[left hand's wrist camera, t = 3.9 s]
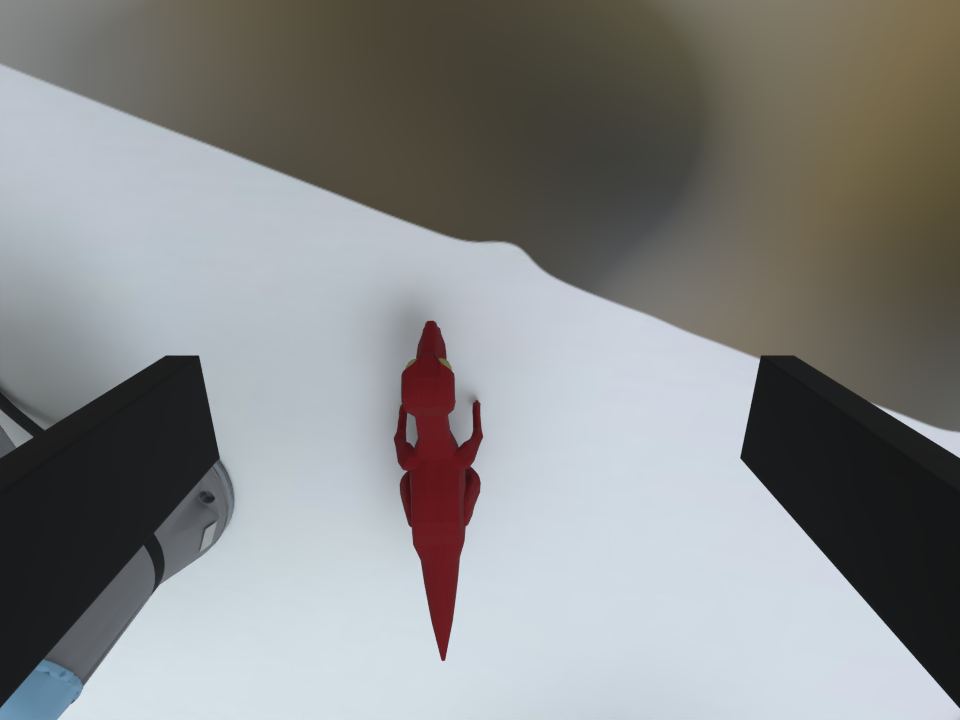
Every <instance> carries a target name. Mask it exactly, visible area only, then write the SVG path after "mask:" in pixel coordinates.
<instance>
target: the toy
mask: <svg viewBox="0 0 960 720" xmlns="http://www.w3.org/2000/svg"><path fill="white" fill-rule="evenodd" d="M401 397H402V405H401V406H400V410H399V420H398V428H397V433H396V435H395V437H394V441H395V446H396V452H397V459H398V463H399V464H400V466H401V467H402V469H403V470H406V471H408V472H406V473H405V474H404V476H403V477H402V479H401V482H400V495H401V499H402V502H403V506H404V510H405V514H406V517H407V521H408V524H409V526H410V527H412V535H413V545H414V547H415V549H416V551H417V553H418V555H419V558H420V560H421V565H422V571H423V578H424V584H425V590H426V595H427V600H428V605H429V611H430V616H431V621H432V625H433V629H434V633H435V637H436V641H437V645H438V648H439V652H440V656H441V660H442V661H445V658H446V653H447V648H448V642H449V637H450V632H451V627H452V622H453V615H454V607H455V599H456V591H457V582H458V572H459V561H460V555H461V551H462V548H463V544H464V540H465V528H466V526H467V525H468V524H469V521H470V519H471V517H472V514H473V510H474V506H475V503H476V501H477V498H478V496H479V493H480V484H481V482H480V478H479V476H478V474H477V473H476V472H475V470H474V469H473V468H472V467H470V466H471V464H472V463H473V462H474V460H475V457H476V454H477V451H478V448H479V445H480V443H481V440H482V438H483V434H482V430H481V418H480V406H481V405H480V403H479V402H478V400H476V401H475V402H474V403H473V433H472V436H471V438H470V439H469V440H467V441H466V442H464V443H463V444H462V445H461V446H460V447H458V444H457V442H456V440H455V438H454V436H453V434H452V433H451V431H450V427H449V420H448V414H449V413H450V412H451V411H453V410H454V406H455V378H454V373H453V372H452V369H451V366H450V364H449V362H448V361H447V360H446V349H445V343H444V340H443V338H442V335H441V331H440V328H439V327H437V324H436V322H434V321H427V322H426V324H425V327H424V329H423V333H422V336H421V339H420V341H419V344H418V349H417V356H416V359H414V360H411V361H410V362H409V363H408V364H407V366H406V369H405V370H404V371H403V373H402V383H401ZM407 412H408V413H409V414H411V415H413V416H414V417H415V418H416V425H417V433H418V440H417V442H416V445H415V447H413V446H412V445H411V444H410V443H408V442H406V421H407Z"/></svg>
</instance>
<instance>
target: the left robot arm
mask: <svg viewBox="0 0 960 720" xmlns="http://www.w3.org/2000/svg"><path fill="white" fill-rule="evenodd" d="M0 409H1V410H2V411H3V412H4V413H5V414H6V415H8V416H9V417H10V418H11V419H12V420H14V421H15V422H16V423H17V424H18V425H20V426H21V427H22V428H23V429H25V430H26V431H27V432H28V433H30V434H31V435H32V436H33V437H34V438H32V439H30V440H29V441H27V442H26V443H24V444H22V445H21V446H19V447H17V448H16V447H15V445H14V444H13V443H12V441H11V440H10V438H9V437H8V435H7V434H6V433H5V431H4V430H3V428H2V427H1V425H0V720H57V719H58V718H59V717H60V716H61V714H62V713H63V712H64V711H65V710H66V709H67V707H68V706H69V705H70V704H72V703H73V702H74V701H75V700H76V699H77V698H78V697H79V695H80V694H81V691H82V689H83V686H84V685H85V684H86V682H87V681H88V680H89V678H90V677H91V676H92V674H93V673H94V672H95V670H96V669H97V668H98V666H99V665H100V664H101V662H102V661H103V659H104V658H105V657H106V655H107V654H108V653H109V651H110V650H111V649H112V647H113V646H114V645H115V643H116V642H117V641H118V639H119V638H120V637H121V635H122V634H123V633H124V631H125V630H126V629H127V627H128V626H129V625H130V623H131V622H132V621H133V619H134V618H135V617H136V615H137V614H138V613H139V611H140V610H141V609H142V607H143V606H144V605H145V603H146V602H147V601H148V599H149V598H150V596H151V595H152V594H153V592H154V591H155V590H156V588H157V587H158V586H159V585H160V584H161V583H163V582H164V581H166V580H167V579H169V578H170V577H171V576H173V575H174V574H176V573H177V572H179V571H180V570H182V569H183V568H185V567H186V566H188V565H189V564H191V563H192V562H193V561H195V560H196V559H198V558H199V557H201V556H202V555H203V554H205V553H206V552H207V551H208V550H209V549H210V548H211V547H212V546H213V545H214V544H215V543H216V542H217V540H218V539H219V538H220V536H221V535H222V533H223V532H224V530H225V529H226V527H227V526H228V524H229V522H230V519H231V516H232V513H233V507H234V497H233V490H232V486H231V483H230V480H229V477H228V475H227V473H226V471H225V469H224V467H223V466H222V464H221V463H220V462H219V458H220V457H219V452H218V447H217V442H216V437H215V432H214V427H213V422H212V418H211V413H210V408H209V403H208V398H207V393H206V388H205V383H204V378H203V373H202V368H201V363H200V358H199V356H165V357H163V358H161V359H160V360H158V361H157V362H155V363H153V364H152V365H150V366H148V367H147V368H145V369H144V370H142V371H140V372H139V373H137V374H136V375H134V376H132V377H131V378H129V379H127V380H126V381H124V382H123V383H121V384H119V385H118V386H116V387H114V388H113V389H111V390H110V391H108V392H106V393H105V394H103V395H102V396H100V397H98V398H97V399H95V400H93V401H92V402H90V403H89V404H87V405H85V406H84V407H82V408H81V409H79V410H77V411H76V412H74V413H72V414H71V415H69V416H68V417H66V418H64V419H63V420H61V421H60V422H58V423H56V424H55V425H53V426H51V427H50V428H48V429H47V430H45V431H44V430H43V429H42V428H41V427H39V426H38V425H37V424H36V423H35V422H33V421H32V420H31V419H30V418H28V417H27V416H26V415H25V414H23V413H22V412H21V411H20V410H19V409H18V408H16V407H15V406H14V405H13V404H12V403H11V402H10V401H9V400H8V399H7V398H6V397H5V396H4V395H3V394H2V393H1V392H0ZM740 458H741V460H742V461H743V462H744V463H745V464H746V465H747V466H748V468H749V469H750V470H751V471H752V472H753V473H754V474H755V476H756V477H757V478H758V479H759V480H760V481H761V482H762V483H763V485H764V486H765V487H766V488H767V489H768V490H769V491H770V493H771V494H772V495H773V496H774V497H775V498H776V499H777V501H778V502H779V503H780V504H781V505H782V506H783V507H784V509H785V510H786V511H787V512H788V513H789V514H790V515H791V517H792V518H793V519H794V520H795V521H796V522H797V523H798V525H799V526H800V527H801V528H802V529H803V530H804V531H805V533H806V534H807V535H808V536H809V537H810V538H811V539H812V540H813V542H814V543H815V544H816V545H817V546H818V547H819V548H820V550H821V551H822V552H823V553H824V554H825V555H826V556H827V558H828V559H829V560H830V561H831V562H832V563H833V564H834V566H835V567H836V568H837V569H838V570H839V571H840V572H841V574H842V575H843V576H844V577H845V578H846V579H847V580H848V582H849V583H850V584H851V585H852V586H853V587H854V588H855V590H856V591H857V592H858V593H859V594H860V595H861V596H862V597H863V599H864V600H865V601H866V602H867V603H868V604H869V605H870V607H871V608H872V609H873V610H874V611H875V612H876V613H877V615H878V616H879V617H880V618H881V619H882V620H883V621H884V623H885V624H886V625H887V626H888V627H889V628H890V629H891V631H892V632H893V633H894V634H895V635H896V636H897V637H898V639H899V640H900V641H901V642H902V643H903V644H904V645H905V647H906V648H907V649H908V650H909V651H910V652H911V653H912V654H913V656H914V657H915V658H916V659H917V660H918V661H919V662H920V664H921V665H922V666H923V667H924V668H925V669H926V670H927V672H928V673H929V674H930V675H931V676H932V677H933V678H934V680H935V681H936V682H937V683H938V684H939V685H940V686H941V688H942V689H943V690H944V691H945V692H946V693H947V694H948V696H949V697H950V698H951V699H952V700H953V701H954V702H955V703H956V705H957V706H958V707H959V708H960V458H959V457H957V456H955V455H954V454H952V453H951V452H949V451H947V450H946V449H944V448H943V447H941V446H939V445H938V444H936V443H934V442H933V441H931V440H930V439H928V438H926V437H925V436H923V435H922V434H920V433H918V432H917V431H915V430H913V429H912V428H910V427H909V426H907V425H905V424H904V423H902V422H900V421H899V420H897V419H896V418H894V417H892V416H891V415H889V414H888V413H886V412H884V411H883V410H881V409H879V408H878V407H876V406H875V405H873V404H871V403H870V402H868V401H867V400H865V399H863V398H862V397H860V396H858V395H857V394H855V393H854V392H852V391H850V390H849V389H847V388H845V387H844V386H842V385H841V384H839V383H837V382H836V381H834V380H833V379H831V378H829V377H828V376H826V375H824V374H823V373H821V372H820V371H818V370H816V369H815V368H813V367H812V366H810V365H808V364H807V363H805V362H803V361H802V360H800V359H799V358H797V357H795V356H761V358H760V363H759V368H758V373H757V378H756V383H755V388H754V393H753V398H752V403H751V408H750V413H749V418H748V422H747V427H746V432H745V437H744V442H743V447H742V452H741V457H740Z"/></svg>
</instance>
